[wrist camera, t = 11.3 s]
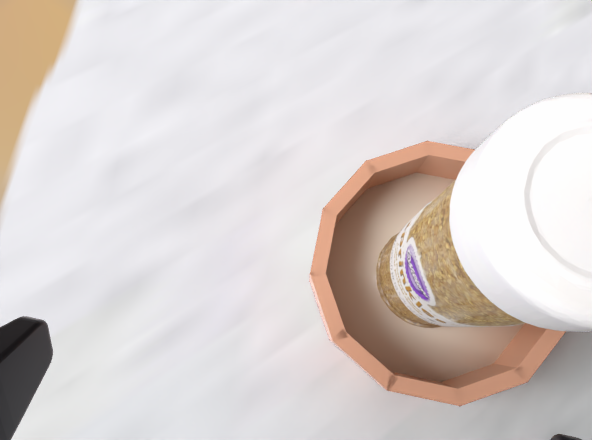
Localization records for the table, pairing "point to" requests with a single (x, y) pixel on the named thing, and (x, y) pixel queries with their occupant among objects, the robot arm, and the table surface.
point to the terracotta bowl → (374, 312)
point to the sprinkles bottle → (505, 231)
